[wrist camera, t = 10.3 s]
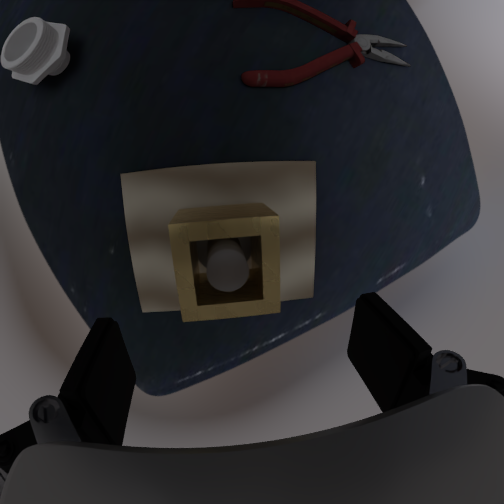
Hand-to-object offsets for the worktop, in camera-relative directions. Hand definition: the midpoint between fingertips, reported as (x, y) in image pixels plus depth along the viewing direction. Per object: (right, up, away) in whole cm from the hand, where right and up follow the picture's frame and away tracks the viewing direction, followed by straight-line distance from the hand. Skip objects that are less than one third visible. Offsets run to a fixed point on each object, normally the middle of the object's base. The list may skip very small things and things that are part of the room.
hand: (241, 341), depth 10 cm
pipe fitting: (-20, +23, +9) cm, 32 cm away
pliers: (+8, +24, +13) cm, 28 cm away
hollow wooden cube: (-2, +4, +14) cm, 15 cm away
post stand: (-2, +5, +17) cm, 18 cm away
